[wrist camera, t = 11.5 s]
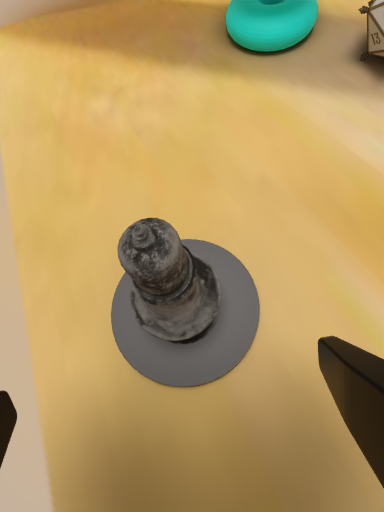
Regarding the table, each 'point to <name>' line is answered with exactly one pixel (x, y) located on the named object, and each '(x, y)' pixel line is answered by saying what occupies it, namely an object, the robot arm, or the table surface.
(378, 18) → the game die
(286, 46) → the donuts
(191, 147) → the table surface
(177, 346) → the charcoal mat
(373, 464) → the robot arm
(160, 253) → the dark grey tall piece
